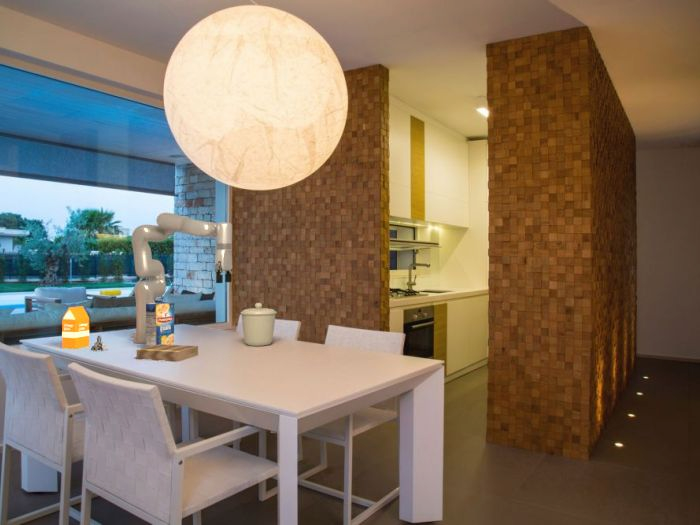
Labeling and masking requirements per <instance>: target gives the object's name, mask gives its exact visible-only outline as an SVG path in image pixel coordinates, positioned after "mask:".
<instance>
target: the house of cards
mask: <svg viewBox="0 0 700 525" xmlns="http://www.w3.org/2000/svg"><path fill="white" fill-rule="evenodd" d="M107 349H108V347H107V346H106V345H105V343H104V342H102V336H101V335H100V334H99V335H97V337H96V342H94V344H93V345H92V346H91V348H90V351H93V352H98V351H97V350H101V351H100V352H105V351H104V350H106V351H108V350H107ZM94 350H96V351H94Z"/></svg>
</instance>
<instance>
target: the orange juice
mask: <svg viewBox="0 0 700 525" xmlns="http://www.w3.org/2000/svg"><path fill="white" fill-rule="evenodd" d="M61 324H62V325H61V326H62V327H61V328H62V329H61V330H62V332H61V337H62V339H61V341H62V342H61V343H62V344H61V345H62V346H61V347H62V348H73V349H72V350H77V349H76V348H80V349H82V348H81V347H85V348H87V347H86V346H89V347H90V317H89V314H87V311H86V310H85V308H84V306H83V305H82V306H72V307H68V309H67V311H66V312H65V314H64V315H63V318H62V321H61Z"/></svg>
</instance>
